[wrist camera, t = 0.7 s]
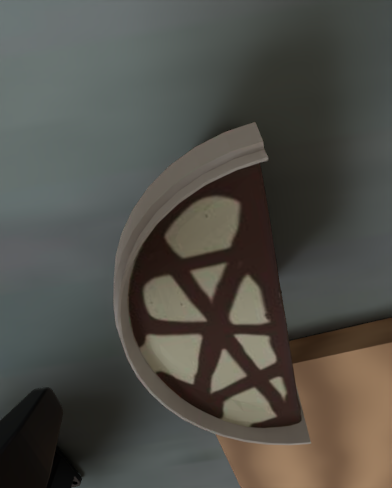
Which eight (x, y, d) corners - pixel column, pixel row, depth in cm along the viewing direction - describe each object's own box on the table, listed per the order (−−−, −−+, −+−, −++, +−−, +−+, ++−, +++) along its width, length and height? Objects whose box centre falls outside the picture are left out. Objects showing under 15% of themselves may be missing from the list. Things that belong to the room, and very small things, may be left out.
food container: (116, 125, 18) (31, 189, 10) (236, 95, 18) (265, 134, 9) (178, 316, 24) (160, 470, 15) (272, 300, 23) (312, 452, 14)
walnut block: (251, 490, 32) (254, 515, 31) (193, 362, 26) (192, 385, 24) (417, 464, 30) (430, 489, 28) (401, 315, 23) (417, 336, 21)
